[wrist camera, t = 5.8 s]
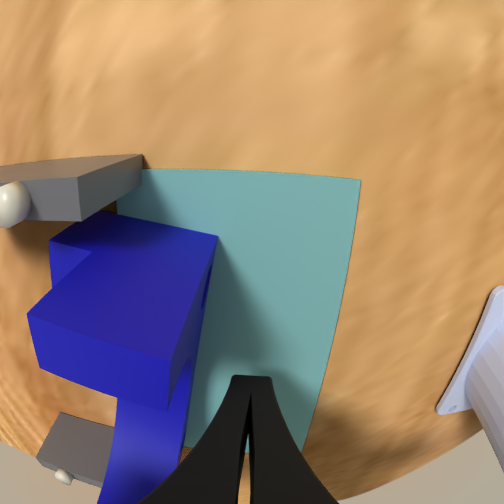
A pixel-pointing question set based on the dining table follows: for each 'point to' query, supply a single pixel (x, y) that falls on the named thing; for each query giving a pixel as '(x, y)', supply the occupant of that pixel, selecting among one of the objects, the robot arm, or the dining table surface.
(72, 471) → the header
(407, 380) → the dining table surface
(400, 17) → the dining table surface
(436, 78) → the dining table surface
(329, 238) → the mat
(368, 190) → the dining table surface
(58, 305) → the blue bent block
